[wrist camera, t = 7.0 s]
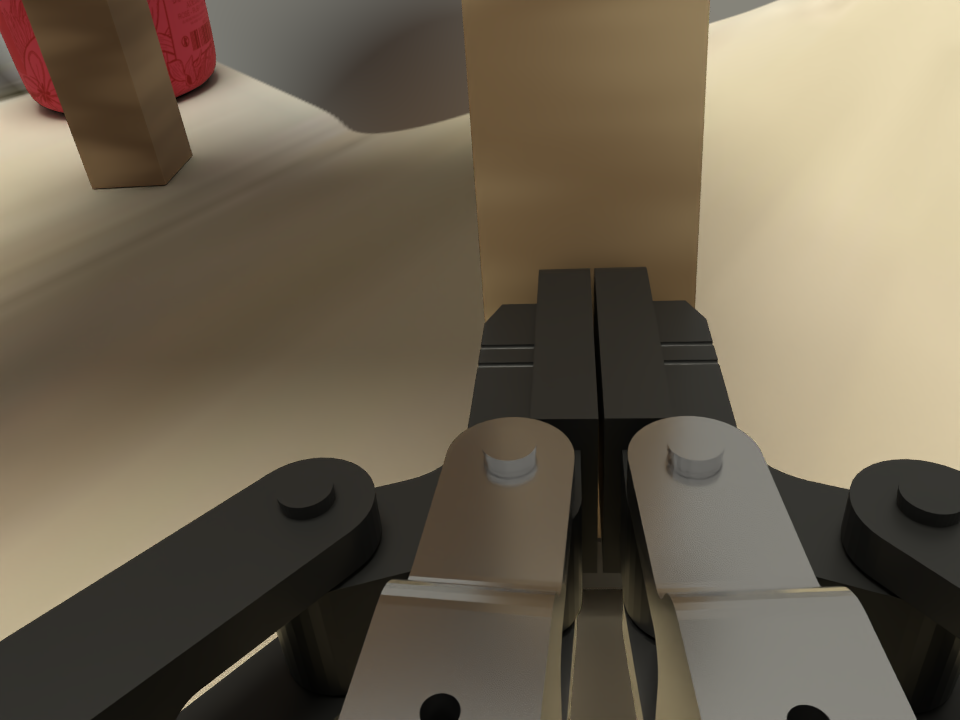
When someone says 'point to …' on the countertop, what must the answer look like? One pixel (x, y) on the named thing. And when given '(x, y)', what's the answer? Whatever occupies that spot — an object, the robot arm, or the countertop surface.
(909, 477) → the robot arm
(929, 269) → the countertop surface
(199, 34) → the red bottle
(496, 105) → the oak leg
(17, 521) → the countertop surface
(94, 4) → the walnut stool
